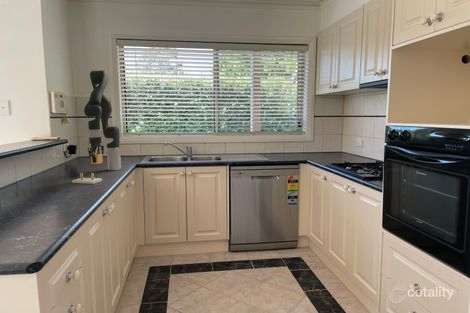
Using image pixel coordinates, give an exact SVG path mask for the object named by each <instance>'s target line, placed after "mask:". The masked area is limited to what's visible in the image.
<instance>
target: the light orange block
mask: <svg viewBox="0 0 470 313" xmlns="http://www.w3.org/2000/svg"><path fill="white" fill-rule="evenodd" d="M103 161H104V158H103V154H96V163H93V162H92V157H91V156H90V162H91V163H90V164H91V165H92V164H93V165H99V164H103V163H104V162H103Z"/></svg>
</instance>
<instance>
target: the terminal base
mask: <svg viewBox="0 0 470 313" xmlns="http://www.w3.org/2000/svg"><path fill="white" fill-rule="evenodd" d="M94 174H95V173H93V172H91V173H90V177H84V173H83V172H80V173H79V177H80V178H75V179H73V180H71V183H72V184H87V185H89V184H90V185H93V184H97V183H100V182H102V181H103V178H98V177H97V178H96V177H95V175H94Z"/></svg>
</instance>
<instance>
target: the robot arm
mask: <svg viewBox="0 0 470 313" xmlns="http://www.w3.org/2000/svg"><path fill="white" fill-rule="evenodd" d="M89 78H90V82H91V86H92V88H93V90H92V91H91V93H90V95H89V96H90V97H89V99H88V101H87V103H86V104H85V106H84V108H83V113H84V115H85V116H86V117H93V118H94V117H95V118H94V119H91V120H89V121H88V123H87V124H88V141H89V142H88V143H89V144H90V147H87V151H88V156H89V157H90V158H91V157H92V162H93V163H96V154H102V155H104V153H105V152H104V151H105V150H104V149H105V145H102V142H103V141H102V140H103V138H102V133H103V136H104V138H105V139H112V141H110V142H108V143H106V156H107V157H106V158H107V170H108V171H119V170H121V169H122V157H121V150H120V134H121V133H120V128H119V127H118V126H115V125H114V126H113V125H112V126H111V125H110V126H109V119H110V116H111V115H112V111H113V107H112V104H111V100H110V98H109V97H108V95H106V94H105V92H104V91H105V89H106V88H107V84H108V81H109V75H108V73H107V71H106V70H91V71H90V72H89ZM101 127H102V132H101Z"/></svg>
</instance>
